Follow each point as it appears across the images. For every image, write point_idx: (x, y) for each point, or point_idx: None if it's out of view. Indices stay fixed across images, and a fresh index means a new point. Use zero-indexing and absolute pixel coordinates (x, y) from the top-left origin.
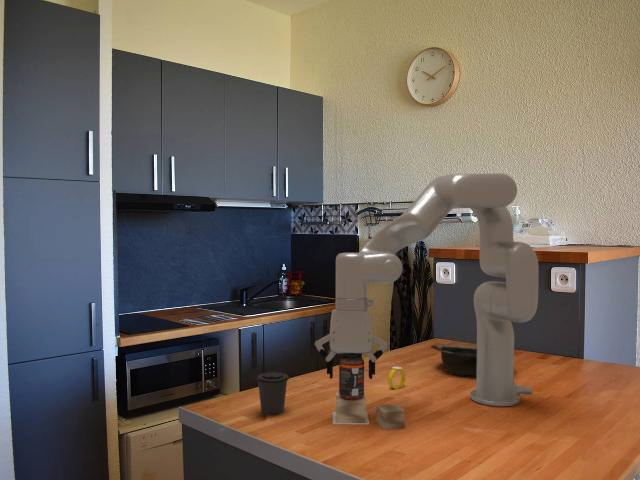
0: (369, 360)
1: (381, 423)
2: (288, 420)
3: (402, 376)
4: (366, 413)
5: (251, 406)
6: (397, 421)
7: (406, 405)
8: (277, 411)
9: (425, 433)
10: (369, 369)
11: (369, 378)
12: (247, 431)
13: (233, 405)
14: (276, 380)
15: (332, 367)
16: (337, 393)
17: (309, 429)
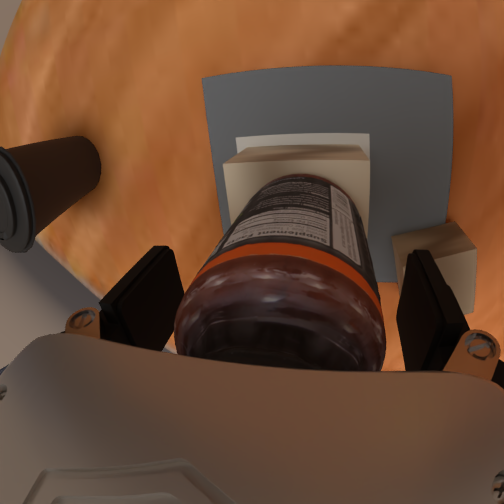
0: (437, 340)
1: (399, 285)
2: (125, 207)
3: None
4: (366, 147)
5: (32, 123)
6: None
7: (498, 40)
8: (86, 193)
9: (492, 286)
10: (404, 357)
11: (397, 314)
12: (85, 276)
13: (10, 129)
14: (22, 249)
15: (161, 348)
16: (232, 179)
17: (192, 267)
